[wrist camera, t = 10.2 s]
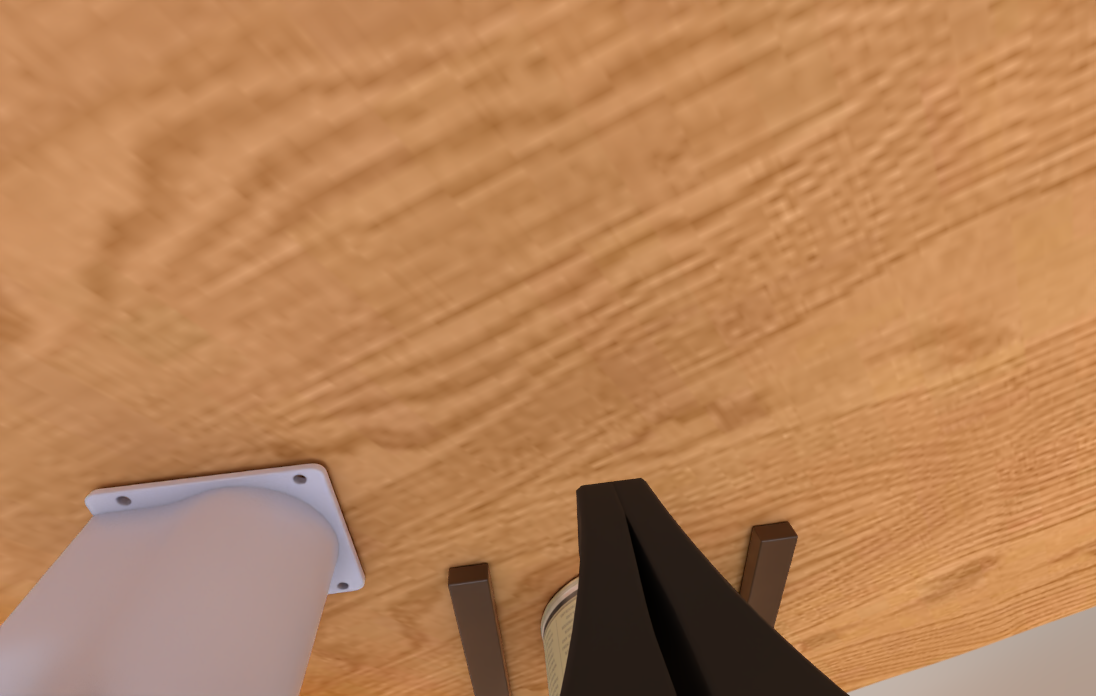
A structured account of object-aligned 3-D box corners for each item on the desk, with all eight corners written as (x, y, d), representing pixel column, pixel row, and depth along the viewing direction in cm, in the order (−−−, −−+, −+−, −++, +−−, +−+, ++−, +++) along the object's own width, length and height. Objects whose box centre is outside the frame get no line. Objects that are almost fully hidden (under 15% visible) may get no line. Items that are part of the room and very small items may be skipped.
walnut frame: (485, 725, 34) (486, 743, 33) (448, 567, 26) (447, 585, 25) (748, 684, 35) (755, 699, 35) (788, 521, 27) (798, 536, 27)
